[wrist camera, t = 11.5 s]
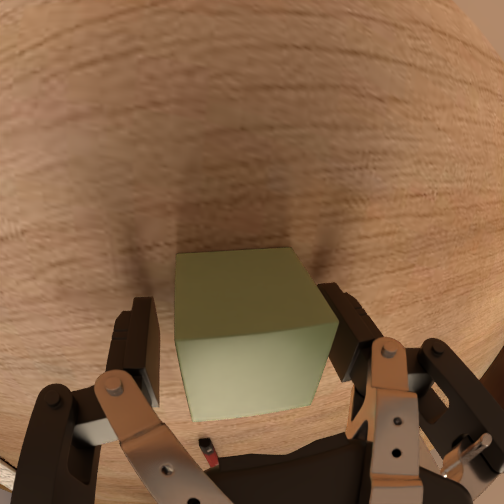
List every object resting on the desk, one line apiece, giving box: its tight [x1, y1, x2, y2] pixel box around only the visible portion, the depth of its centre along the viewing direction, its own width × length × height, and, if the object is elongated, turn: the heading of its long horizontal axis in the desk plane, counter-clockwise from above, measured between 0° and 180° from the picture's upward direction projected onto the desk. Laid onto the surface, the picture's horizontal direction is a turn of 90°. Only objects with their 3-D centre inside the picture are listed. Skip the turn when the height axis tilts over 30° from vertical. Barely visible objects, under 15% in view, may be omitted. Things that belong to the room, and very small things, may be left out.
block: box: [174, 247, 339, 422], centre depth 10 cm, size 4×4×4 cm
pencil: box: [199, 438, 219, 467], centre depth 22 cm, size 1×14×1 cm, turn 2°
